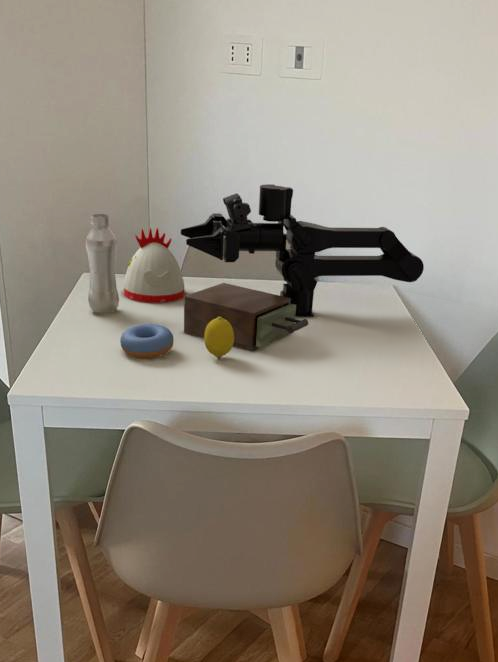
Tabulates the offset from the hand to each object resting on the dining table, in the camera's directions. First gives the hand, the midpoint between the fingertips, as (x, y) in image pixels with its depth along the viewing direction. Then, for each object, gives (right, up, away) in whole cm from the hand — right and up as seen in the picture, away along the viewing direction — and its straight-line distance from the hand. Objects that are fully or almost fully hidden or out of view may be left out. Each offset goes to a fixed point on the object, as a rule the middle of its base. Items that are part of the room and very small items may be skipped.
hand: (183, 236), depth 166 cm
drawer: (+15, -21, -4) cm, 26 cm away
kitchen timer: (-8, -7, +21) cm, 24 cm away
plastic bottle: (-18, -14, +7) cm, 24 cm away
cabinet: (+11, -20, -1) cm, 23 cm away
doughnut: (-6, -26, -14) cm, 30 cm away
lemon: (+8, -27, -15) cm, 32 cm away
